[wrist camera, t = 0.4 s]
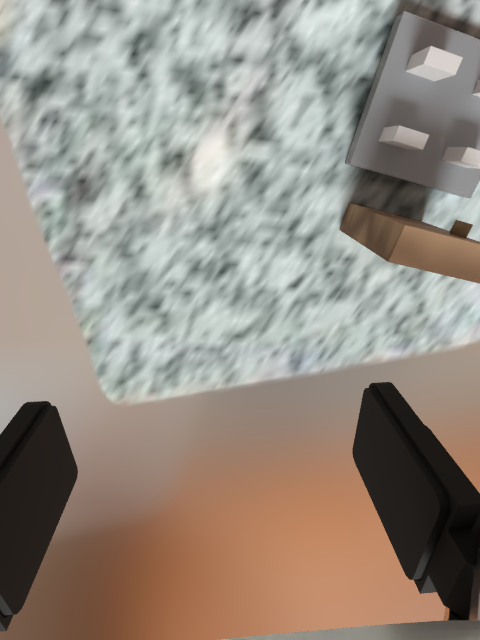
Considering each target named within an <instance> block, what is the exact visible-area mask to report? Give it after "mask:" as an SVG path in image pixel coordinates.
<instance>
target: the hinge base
mask: <svg viewBox="0 0 480 640" xmlns="http://www.w3.org/2000/svg"><path fill="white" fill-rule="evenodd" d="M345 164H349V165H352V166H356V167H359V168H363V169H366V170H370V171H373V172H377V173H380V174H384V175H387V176H391V177H394V178H398V179H401V180H405V181H408V182H412V183H416V184H419V185H423V186H426V187H430V188H433V189H437V190H440V191H444V192H447V193H451V194H454V195H458V196H461V197H467V198H471V196H472V194H473V192H474V190H475V188H476V186H477V184H478V182H479V181H480V39H477V38H475V37H472V36H469V35H467V34H464V33H462V32H459V31H456V30H454V29H451V28H448V27H446V26H443V25H440V24H438V23H435V22H433V21H430V20H427V19H425V18H422V17H419V16H417V15H414V14H411V13H409V12H406V11H403V12H402V13H401V14H399V15H398V16H397V17H396V18H395V21H394V23H393V26H392V29H391V32H390V35H389V38H388V41H387V44H386V46H385V49H384V52H383V55H382V58H381V61H380V64H379V67H378V69H377V72H376V75H375V78H374V81H373V84H372V87H371V90H370V93H369V95H368V98H367V101H366V104H365V107H364V110H363V113H362V116H361V118H360V121H359V124H358V127H357V130H356V133H355V136H354V139H353V141H352V144H351V147H350V150H349V153H348V156H347V159H346V162H345Z"/></svg>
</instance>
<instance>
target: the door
mask: <svg viewBox="0 0 480 640" xmlns="http://www.w3.org/2000/svg"><path fill="white" fill-rule="evenodd" d="M472 226H473V225H472V224H469V223H465V222H461V221H458V220H456V221H455V223H454V225H453V227H452V229H451V230H450V231H447V230H444V229H441V228H438V227H436V226H433V225H430V224H427V223H424V222H421V221H418V220H414V219H410V218H406V217H402V216H399V215H395V214H391V213H387V212H383V211H380V210H376V209H372V208H368V207H364V206H361V205H357V204H353V203H349V205H348V208H347V211H346V214H345V216H344V219H343V222H342V224H341V227H340V230H341V231H342V232H344V233H345V234H347V235H348V236H350V237H351V238H353V239H354V240H356V241H357V242H359V243H360V244H362V245H364V246H365V247H367V248H368V249H370V250H371V251H373V252H374V253H376V254H377V255H379V256H380V257H382V258H383V259H385V260H386V261H388V262H391V263H396V264H400V265H404V266H408V267H413V268H417V269H421V270H425V271H430V272H434V273H438V274H442V275H447V276H451V277H455V278H459V279H463V280H468V281H472V282H476V283H480V242H478V241H475V240H472V239H469V238H467V235H468V233H469V231H470V229H471V228H472Z"/></svg>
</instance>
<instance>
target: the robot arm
mask: <svg viewBox="0 0 480 640" xmlns="http://www.w3.org/2000/svg"><path fill="white" fill-rule="evenodd" d="M353 458H354V461H355V464H356V466H357V468H358V470H359V473H360V475H361V477H362V479H363V482H364V484H365V486H366V488H367V490H368V492H369V495H370V497H371V499H372V502H373V504H374V506H375V508H376V510H377V513H378V515H379V517H380V519H381V522H382V524H383V526H384V528H385V530H386V533H387V535H388V537H389V539H390V542H391V544H392V546H393V548H394V550H395V553H396V555H397V557H398V559H399V561H400V564H401V566H402V568H403V570H404V572H405V574H406V576H407V577H408V578H409V579H410V580H414V581H415V584H416V586H417V588H418V590H419V592H420V594H421V593H432V592H437V593H438V595H439V597H440V599H441V601H442V603H443V604H444V606H446V608H445V614H444V621H433V622H417V623H402V624H387V625H374V626H364V627H351V628H341V629H329V630H319V631H306V632H295V633H284V634H272V635H262V636H252V637H241V638H230V639H219V640H480V493H479V492H478V491H477V490H476V488H475V487H474V486H473V484H472V483H471V482H470V481H469V479H468V478H467V477H466V475H465V474H464V473H463V471H462V470H461V469H460V468H459V466H458V465H457V464H456V463H455V461H454V460H453V459H452V457H451V456H450V455H449V453H448V452H447V451H446V450H445V448H444V447H443V446H442V444H441V443H440V442H439V440H438V439H437V438H436V437H435V435H434V434H433V433H432V431H431V430H430V429H429V428H428V427H427V426H425V425H424V424H423V423H422V421H421V420H420V419H419V418H418V416H417V415H416V414H415V412H414V411H413V410H412V409H411V407H410V406H409V404H408V403H407V402H406V401H405V399H404V398H403V397H402V395H401V394H400V393H399V391H398V390H397V389H396V388H395V386H394V385H393V384H392V383H390V382H382V383H371V384H370V385H369V388H366V389H365V390H364V393H363V398H362V404H361V408H360V413H359V419H358V424H357V429H356V435H355V440H354V445H353ZM77 473H78V469H77V466H76V462H75V460H74V457H73V454H72V451H71V448H70V445H69V442H68V439H67V436H66V433H65V430H64V427H63V424H62V422H61V419H60V416H59V413H58V410H57V408H56V407H55V406H51V404H50V403H49V402H48V401H42V402H27V403H25V404H24V405H23V406H22V407H21V408H20V410H19V411H18V412H17V414H16V415H15V416H14V417H13V419H12V420H11V421H10V423H9V424H8V425H7V427H6V428H5V429H4V431H3V432H2V433H1V434H0V631H7V628H8V626H9V624H10V621H11V619H12V617H13V615H14V614H17V613H18V612H19V611H20V610H21V608H22V607H23V605H24V603H25V600H26V598H27V595H28V593H29V591H30V588H31V586H32V583H33V581H34V579H35V577H36V574H37V572H38V569H39V567H40V565H41V562H42V560H43V558H44V555H45V553H46V551H47V548H48V546H49V543H50V541H51V539H52V536H53V534H54V532H55V529H56V527H57V525H58V522H59V520H60V517H61V514H62V513H63V510H64V508H65V506H66V503H67V501H68V498H69V496H70V494H71V491H72V489H73V487H74V484H75V482H76V479H77Z"/></svg>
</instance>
